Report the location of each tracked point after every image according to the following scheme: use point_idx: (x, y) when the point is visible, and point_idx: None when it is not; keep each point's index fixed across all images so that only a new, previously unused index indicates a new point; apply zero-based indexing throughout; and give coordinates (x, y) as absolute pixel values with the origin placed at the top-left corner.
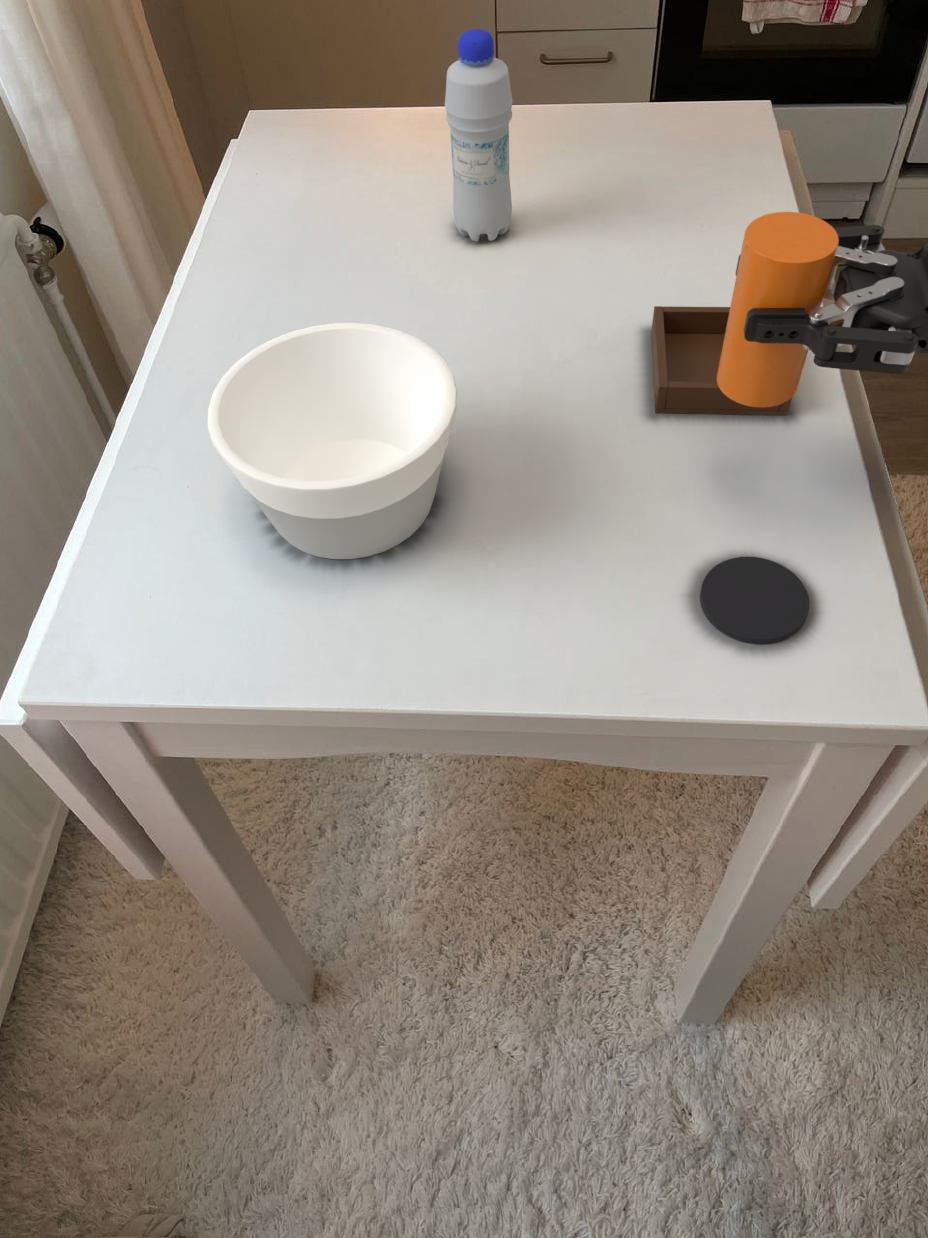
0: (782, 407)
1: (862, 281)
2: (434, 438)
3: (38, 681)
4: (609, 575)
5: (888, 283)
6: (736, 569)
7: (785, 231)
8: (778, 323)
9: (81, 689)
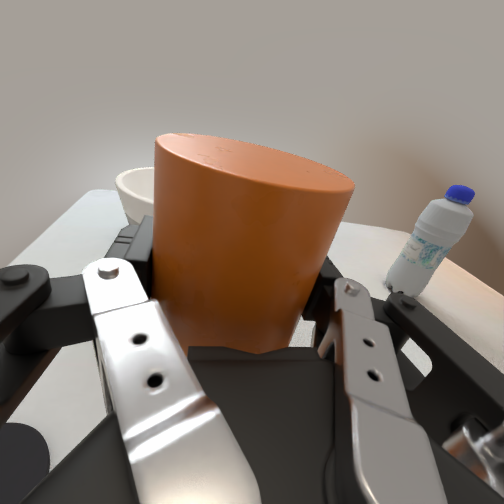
0: None
1: (270, 395)
2: (145, 200)
3: (97, 189)
4: (80, 347)
5: (192, 455)
6: (25, 467)
7: (272, 157)
8: (122, 240)
9: (89, 194)
